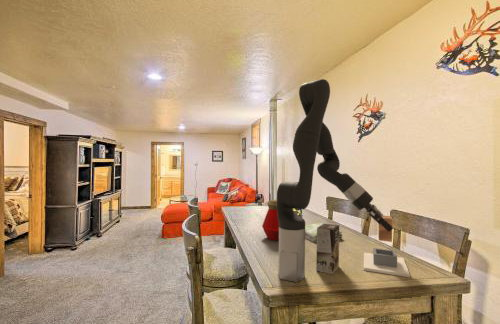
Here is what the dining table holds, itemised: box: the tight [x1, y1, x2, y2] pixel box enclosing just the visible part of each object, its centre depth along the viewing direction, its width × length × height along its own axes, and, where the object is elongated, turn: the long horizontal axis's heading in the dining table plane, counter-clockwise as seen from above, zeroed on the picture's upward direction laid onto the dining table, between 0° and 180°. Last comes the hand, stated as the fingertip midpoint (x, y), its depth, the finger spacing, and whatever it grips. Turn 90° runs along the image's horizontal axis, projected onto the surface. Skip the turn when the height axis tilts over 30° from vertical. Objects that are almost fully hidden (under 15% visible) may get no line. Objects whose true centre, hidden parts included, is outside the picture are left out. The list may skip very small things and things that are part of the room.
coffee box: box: [315, 223, 340, 275], centre depth 102 cm, size 9×6×16 cm
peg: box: [377, 215, 393, 243], centre depth 107 cm, size 4×4×9 cm
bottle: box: [262, 199, 279, 242], centre depth 141 cm, size 16×14×20 cm
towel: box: [305, 222, 343, 243], centre depth 147 cm, size 18×21×5 cm
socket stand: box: [363, 247, 411, 278], centre depth 107 cm, size 18×15×5 cm
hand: (390, 228), depth 106 cm, fingers closed on peg, 4 cm apart
